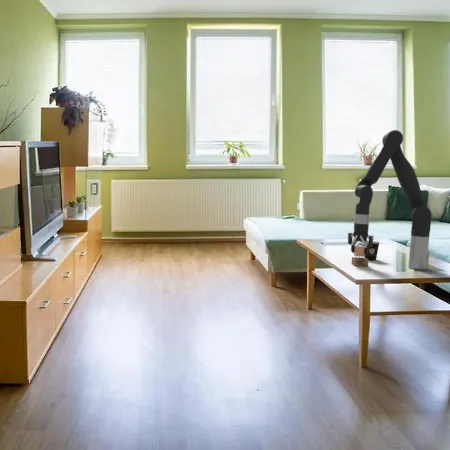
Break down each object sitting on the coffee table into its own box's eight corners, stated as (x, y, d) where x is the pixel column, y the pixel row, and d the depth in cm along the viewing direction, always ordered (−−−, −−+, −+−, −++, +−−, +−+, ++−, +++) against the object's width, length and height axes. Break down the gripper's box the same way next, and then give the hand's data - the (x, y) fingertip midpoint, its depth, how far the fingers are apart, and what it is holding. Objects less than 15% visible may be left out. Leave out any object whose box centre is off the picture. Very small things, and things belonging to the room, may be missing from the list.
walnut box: (364, 264, 299) (364, 257, 299) (368, 267, 292) (368, 259, 292) (351, 264, 299) (352, 257, 298) (355, 266, 292) (355, 259, 292)
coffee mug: (379, 259, 317) (381, 242, 316) (375, 261, 310) (376, 243, 309) (359, 257, 323) (360, 240, 322) (355, 259, 316) (356, 241, 314)
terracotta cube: (363, 254, 298) (363, 245, 297) (365, 256, 293) (365, 247, 292) (353, 254, 298) (354, 245, 297) (355, 256, 293) (355, 247, 292)
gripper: (377, 223, 291) (375, 254, 293) (353, 220, 301) (351, 251, 303) (370, 224, 286) (368, 256, 288) (345, 221, 296) (343, 252, 297)
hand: (359, 253), depth 295 cm, fingers closed on terracotta cube, 7 cm apart
